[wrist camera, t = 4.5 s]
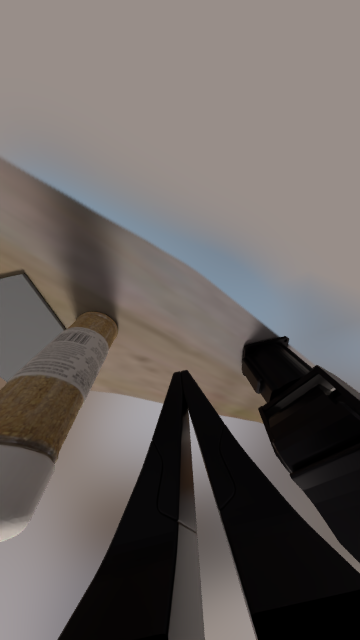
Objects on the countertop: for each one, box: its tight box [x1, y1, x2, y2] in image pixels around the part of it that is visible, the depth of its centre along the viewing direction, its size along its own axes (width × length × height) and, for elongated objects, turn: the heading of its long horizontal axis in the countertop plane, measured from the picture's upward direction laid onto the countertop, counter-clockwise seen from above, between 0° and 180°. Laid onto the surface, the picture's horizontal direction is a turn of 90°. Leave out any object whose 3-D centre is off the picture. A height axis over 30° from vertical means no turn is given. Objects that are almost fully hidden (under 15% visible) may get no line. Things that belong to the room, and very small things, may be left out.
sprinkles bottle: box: [0, 312, 118, 542], centre depth 10 cm, size 5×5×13 cm
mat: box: [0, 273, 66, 382], centre depth 16 cm, size 11×14×1 cm
